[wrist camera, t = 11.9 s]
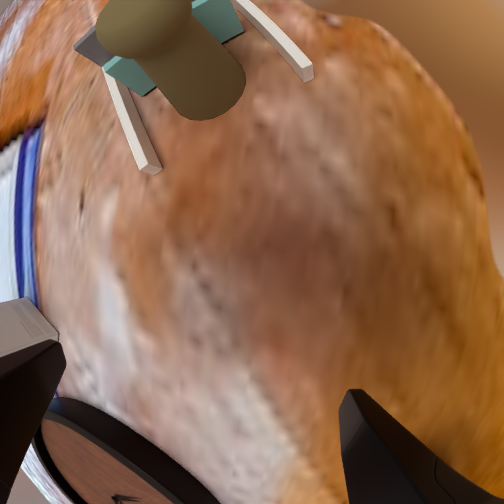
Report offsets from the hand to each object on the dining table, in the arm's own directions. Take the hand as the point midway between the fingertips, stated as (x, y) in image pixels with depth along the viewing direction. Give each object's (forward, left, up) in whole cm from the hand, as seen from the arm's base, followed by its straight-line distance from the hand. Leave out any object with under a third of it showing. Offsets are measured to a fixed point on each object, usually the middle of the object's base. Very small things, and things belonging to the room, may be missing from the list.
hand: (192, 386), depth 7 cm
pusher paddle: (+15, -13, -11) cm, 23 cm away
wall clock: (+1, +35, -12) cm, 37 cm away
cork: (+12, -11, -12) cm, 20 cm away
